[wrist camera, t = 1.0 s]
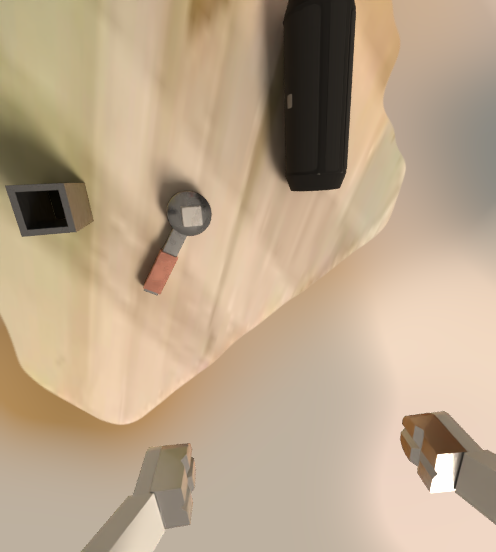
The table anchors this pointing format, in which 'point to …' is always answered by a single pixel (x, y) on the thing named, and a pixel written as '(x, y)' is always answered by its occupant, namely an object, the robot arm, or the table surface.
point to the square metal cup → (49, 208)
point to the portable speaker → (318, 91)
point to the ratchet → (178, 235)
